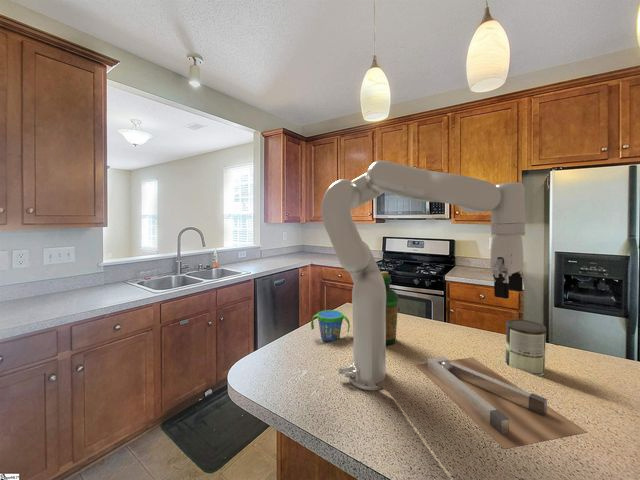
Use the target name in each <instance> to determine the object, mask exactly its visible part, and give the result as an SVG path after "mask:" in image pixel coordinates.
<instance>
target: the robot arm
mask: <svg viewBox="0 0 640 480" xmlns="http://www.w3.org/2000/svg"><path fill="white" fill-rule="evenodd" d="M385 193H386V194H390V195H394V196H398V197H402V198H405V199H410V200H413V201H417V202H424V203H425V202H426V203H443V204H448V205H453V206H457V207H458V208H459V210H461V211H462V212H465V213H467V214H480V213H488V212H490V232H491V234H490V235H491V236H490V237H491V238H492V239H491V245H490V246H491V247H490V266H489V267H490V268H489V269H490V272H491V273H492V276H493V286H494V287H493V288H494V289H493V291H494V292H493V295H494V296H493V297H496V298H498V299H499V298H500V299H506V300H507V299H509V298H510V291H514V292H515V291H516V292H522V291H523V290H524V289H523V284H524V283H523V271H522V270H523V267H524V249H523V248H524V247H523V246H524V245H523V238H522V237H523V236H526V216H525V215H526V213H525V212H526V209H525V205H526V203H525V202H526V201H525V200H526V199H525V186H524V184H523V183H522V182H504V183H503V182H502V183H497V184H494V183H493V182H490V181H487V180H483V179H479V178H475V177H471V176H468V175H467V176H466V175H463V174H462V175H461V174H456V173H449V172H440V171H434V170H428V169H422V168H419V167H413V166H409V165H405V164H402V163H397V162H392V161H388V160H384V159H383V160H381V159H380V160H375V161H374V162H373V163H371V164H370V165H369V167H368V169H367V171H366V172H365V173H364V174H361V175H360V176H358V177H356V178H355V179H353V180H350V179H346V178H342V179H338V180H336V181H335V182H333V183H331V185H330V186H329V187H328V188H327V190H326V191H325V193H324V195H323V197H322V199H321V204H320V205H321V206H320V213H321V220H322V223H323V225H324V228H325V230H326V233H327V236H328V238H329V240H330V243H331V245H332V247H333V249H334V252H335V253H336V256H337V259H338V261H339V264H340V265H341V268H343V270H344V271H346V272H348V273H349V276H350V277H351V280H352V282H353V285H352V289H351V303H352V305H351V306H352V330H353V332H352V337H353V338H352V341H353V344H352V345H353V347H352V350H353V353H352V354H353V357H352V358H353V360H352V361H351V360H350V364H349V365H347V366H339V367H337V372H338V373H337V374H338V375H344V378H348V380H349V382H350V384H352V385H353V386H354V387H356V388H358V389H361V390H364V391H380V390H384V387H382V386H380V385H379V384H377V383H380V382H383V381H384V380H385V379H386V376H387V375H386V369H387V367H386V366H387V362H386V361H387V360H386V359H387V351H386V347H387V346H386V287H385V282H384V279H383V276H382V274H381V269H380V268H379V265H378V263H377V262H376V260H375V257H374V255H373V252H372V250H371V249H370V247H369V245H368V244H367V243H366V242H365V241H364V240H363V239H362V237H361V235H360V233H359V231H358V228H357V225H356V224H355V222H354V219H353V217H352V214H351V212H352V210H355V209H356V208H359V207H361V206H362V205H365V204H366V203H368V202H371V201H373V200H374V199H376V198H378V197H380V196H381V195H383V194H385Z"/></svg>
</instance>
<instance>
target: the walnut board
mask: <svg viewBox="0 0 640 480" xmlns="http://www.w3.org/2000/svg"><path fill="white" fill-rule="evenodd" d="M448 360H449V363H451V362H454V363H456V364H459V365H461V366H464V367H466V368H469V369H471V370H474V371H476V372H479V373H481V374H484V375H486V376H488V377H491V378H493V379H496V380H498V381H501V382H503V383H506V384H508V385H511V386H513V387H516V388H518V389H521V390H523V391H525V390H524V389H522V388H520V387H519V386H517V385H516V384H514V383H512V381H510V380H508V379H506V377H503V376H502V375H501V374H499V373H497V372H496V371H494V369H493V370H492V369H491V368H490V367H488V366H486V365H485V364H483V363H482V362H480V361H479V360H477V359H476V358H474V357H467V358H458V359H448ZM415 367H416V368H417V369H419V370H420V371H421V373H423V374H424V375H425V376H426V377H427V378H428V379H429V380H430V381H432V383H434V385H435V386H437V387H438V388H439V390H441V391H442V392H443V393H444V394H445V395H446V396H447V397H448V398H449V399H450V400H451V401H453V402H454V403H455V404H456V405H457V406H458V408H460V409H461V410H462V411H463V412H464V413H465V414H466V415H467V416H468V417H469V418H471V419H472V421H473V422H475V423H476V424H477V425H478V426H479V427H480V428H481V429H482V430H483V431H484V432H485V433H486V434H488V435H489V437H490V438H491V439H493V440H494V441H495V443H497V445H499V447H501V448H502V449H504V450H507V449H511V448H517V447H521V446H526V445H531V444H536V443H541V442H547V441H552V440H557V439H561V438H567V437H571V436H577V435H581V434H586V433H588V431H587V430H585V429H584V428H582V427H580V426H579V425H577V424H576V423H574V422H573V421H572V420H570V419H568V418H567V417H565V416H564V415H562V414H561V413H559V412H557V411H556V410H554V409H553V408H551V407H549V405H547V413H546V414H545V415H544V416H543V415H541V414H539V413H536V412H534V411H532V410H530V409H528V408H526V407H523V406H521V405H519V404H517V403H514V402H512V401H510V400H508V399H505V398H503V397H501V396H499V395H496V394H494V393H492V392H490V391H487V390H485V389H483V388H481V387H478V386H476V385H474V384H472V383H469V382H467V381H465V380H463V379H460V378H458V377H457V378H458V379H459V380H460V381H462V382H463V383H464V384H465V385H466V386H468V387H469V388H470V389H471V390H473V391H474V392H475V393H476V394H478V395H479V396H480V397H481V398H483V399H484V400H485V401H486V402H488V403H489V404H490V405H491V406H493V407H494V408H495V409H496V410H497V409H498V410H499V411H500V412H502V413H503V414H504V415H505V416H507V417H508V418H509V433H505V434H500V433H499V432H498V431H496V430H495V429H494V428H493V427H492V426H491V425H490V424H489V423H488V422H487V421H486V420H485V419H484V418H482V417H481V416H480V415H479V414H478V413H477V412H476V411H475V410H473V409H472V408H471V407H470V406H469V405H468V404H467V403H466V402H465V401H463V400H462V399H461V398H460V397H459V396H458V395H457V394H456V393H454V392H453V391H452V390H451V389H450V388H449V387H448V386H447V385H445V384H444V383H443V382H442V381H441V380H440V379H439V378H438V377H437V376H435V375H434V374H433V373H432V372H431V371H430V370H429V369H428V362H426V363H417V364H415ZM455 377H456V376H455Z"/></svg>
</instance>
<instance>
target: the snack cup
mask: <svg viewBox="0 0 640 480" xmlns="http://www.w3.org/2000/svg"><path fill="white" fill-rule="evenodd" d="M315 318H317V320H318V328H319V332H320V338H321V339H322V340H323V341H324V342H335V341H338V340H340V337H341V331H342V325H343V320H345V321H346V323H347V333H349V332H350V326H351V325H350V320H349V319H348V317H347V316H346V315H345V314H344V313H343V312H341V311H338V310H334V309H327V310H320V311H318V312H317V313H316V314H315V315H313V317H312V319H311V322H310V328H311V330H313V331H314V329H315V326H314V319H315Z"/></svg>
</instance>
